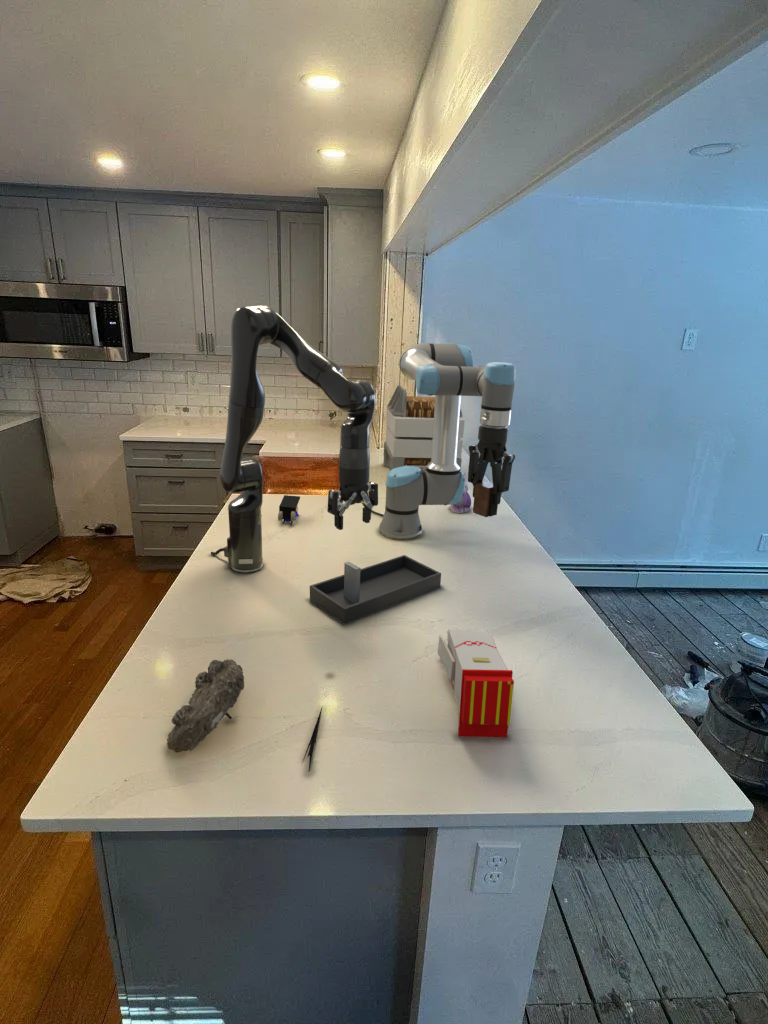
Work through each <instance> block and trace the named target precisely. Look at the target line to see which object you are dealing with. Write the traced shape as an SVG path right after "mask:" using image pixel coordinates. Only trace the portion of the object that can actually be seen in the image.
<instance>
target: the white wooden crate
mask: <svg viewBox="0 0 768 1024" xmlns="http://www.w3.org/2000/svg"><path fill="white" fill-rule="evenodd" d="M407 394H408V393H407V390H406V389H404V388H403V387H402V385H399V384H398V385H397V386H396V388H395V390H394V392H393V394H392V395H391V398H390V400H389V402H388V404H387V405H386V413H385V414H386V415H385V423H386V428H385V438H384V442H383V466H384V467H388V468H389V471H391V470H392V469H394V468H397V467H402V466H412V467H413V466H415V467H427V465H428V464H429V463H430V462H431V456H432V440H433V424H434V409H435V396H415V395H414V396H413V395H412V396H411V395H407ZM464 429H465V419H464V418H463V411H462V408H461V407H460V417H459V431H458V444H457V457H456V463H457V465H458V466H459V467H460V471H461V472H462V461H463V460H462V453H463V442H464V441H463V440H462V439H463V438H464V431H465V430H464Z"/></svg>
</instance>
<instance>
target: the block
mask: <svg viewBox="0 0 768 1024" xmlns="http://www.w3.org/2000/svg"><path fill="white" fill-rule="evenodd" d="M491 491H493V482H490V481H482V483H478V484H476V486H475V496H474V497H473V504H474V505H473V506H472V513H473V514H476V515H479V516H481V517H484V518H488V517H489V516H488V511H489V502H490V494H491Z"/></svg>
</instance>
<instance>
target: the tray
mask: <svg viewBox="0 0 768 1024" xmlns="http://www.w3.org/2000/svg"><path fill="white" fill-rule="evenodd" d="M343 564H344V565H343V566H344V568H343V571H344V572H343V574H341V575H338V576H335V577H331V578H329V579H326V580H323V581H319V582H317V583H314V584H311V585H309V601H310V602H312V603H313V604H315V605H316V606H318V607H319V608H320V609H322V610H323V611H325V612H326V613H328V614H329V615H330V616H332V617H333V618H334V619H336V620H337V621H339V622H340V623H342V624H343V625H347V624H349V623H351V622H353V621H357V620H359V619H362V618H364V617H366V616H369V615H371V614H374V613H377V612H380V611H382V610H384V609H387V608H390V607H393V606H395V605H398V604H400V603H402V602H405V601H408V600H410V599H413V598H415V597H417V596H420V595H423V594H426V593H428V592H431V591H433V590H437V589H438V588H440V587H441V582H442V573H441V572H440V571H437V570H435V569H434V568H432V567H430V566H427V565H426V564H424V563H421V562H420V561H417V560H415V559H414V558H412V557H409V556H408V555H406V554H403V555H400V556H397V557H394V558H390V559H388V560H384V561H382V562H378V563H375V564H372V565H369V566H366V567H363V568H361V567H359V566H357V565H356V564H354V563H353V562H350V561H346V562H344V563H343Z"/></svg>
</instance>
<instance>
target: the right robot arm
mask: <svg viewBox="0 0 768 1024" xmlns="http://www.w3.org/2000/svg"><path fill="white" fill-rule="evenodd" d="M398 363H399V364H398V366H399V369H400V372H401V373H402V375H403V376H404V377H405V378H407V379H408V380H412V381H415V388H416V392H417V394H419V395H421V396H422V395H423V396H428V397H433V396H434V397H435V409H434V424H433V440H432V456H431V462H430V463H429V464H428V465H427V466H425V467H426V468H425V471H422V469H421V467H420V466H407V465H404V466H402V467H397V468H394V469H392V470H391V471H390V470H388V473H387V475H386V480H385V481H386V482H385V504H384V505H385V507H384V508H385V509H384V513H380V512H377V511H375V510H373V509H371V514H374V515H377V516H380V517H382V519H381V522H379V525H378V533H379V534H380V535H381V536H382V537H385V538H387V539H389V540H395V541H410V540H415V539H418V538H420V537H421V536H422V535H423V525H422V524H421V518H420V515H419V507H420V506H449V505H450V506H451V505H452V504H457V503H458V502H459V501H460V500H461V498H462V495H463V492H464V487H465V482H464V480H465V477H464V472H462V470H461V471H460V467H459V466H458V465H457V463H456V457H457V444H458V431H459V417H460V408H461V401H462V397H481V402H480V403H481V404H480V416H479V424H480V425H479V426H478V433H477V440H478V443H476V444H473V445H469V446H468V453H469V459H468V469H467V471H468V472H467V482H468V483H470V484H472V487H473V488H472V498H474V496H475V486H476V484H478V483H482V482H484V478H485V475H486V472H487V469H488V466H490V468H491V477H492V479H491V480H492V483H493V491H491V494H490V502H489V511H488V517H489V518H490V517H494V516H497V515H498V508H499V505H501V499H502V493H506V492H508V491H509V490H510V483H511V476H512V468H513V463H514V461H515V459H516V455H515V454H510V453H509V452H508V449H507V443H508V441H509V432H510V428H509V426H510V424H511V418H512V417H511V416H512V406H513V399H514V392H515V384H516V374H517V373H516V369H517V368H516V365H515V364H514V363H511V362H510V363H509V362H502V361H501V362H500V361H490V362H489V361H488V362H487V363H486V364H485V365H477V366H475V361H474V356H473V352H472V350H471V348H470V347H469V346H468V345H467V344H466V345H465V344H458V343H429V342H423V343H417V344H414V345H411V346H408V347H407V348H406V349H405V350H404V351H403V352H402V353H401V355H400V357H399V361H398ZM366 496H367V497H368V498H369V492H367V493H366ZM472 504H473V505H474V503H472Z"/></svg>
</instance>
